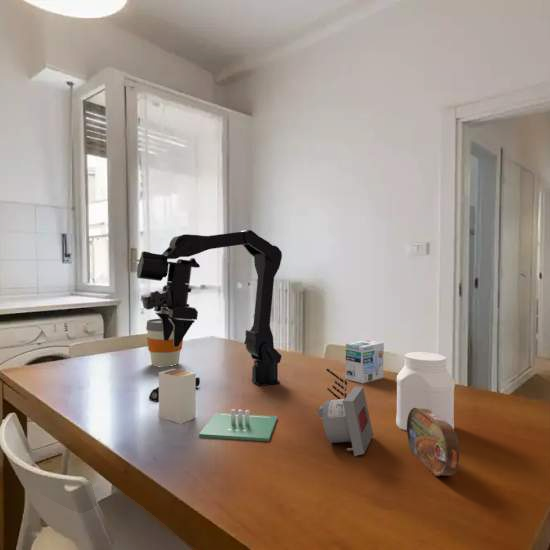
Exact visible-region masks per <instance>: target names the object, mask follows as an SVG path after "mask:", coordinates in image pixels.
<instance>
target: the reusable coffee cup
mask: <svg viewBox="0 0 550 550" xmlns="http://www.w3.org/2000/svg"><path fill="white" fill-rule="evenodd" d="M145 329H146V332H147V337H146V340H147V342H146V343H147V348H148V351H149V353H150V361H151V366H152V365H154V366H171V365H175V364H178V363H179V364H180V356H181V351H182V349H183V343H184V342H183V341H184V338H183V339H182V341H181V343H180V344H179V346H178V347H176V346H174V344H173V331H172V333H171V336H170V338H169V340H168V341H165V340H164V338H163V330H162V323H161V319H160V318H153V319H148V320H146V327H145ZM179 364H178V365H179ZM154 366H153V367H154ZM171 367H172V366H171Z"/></svg>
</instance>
